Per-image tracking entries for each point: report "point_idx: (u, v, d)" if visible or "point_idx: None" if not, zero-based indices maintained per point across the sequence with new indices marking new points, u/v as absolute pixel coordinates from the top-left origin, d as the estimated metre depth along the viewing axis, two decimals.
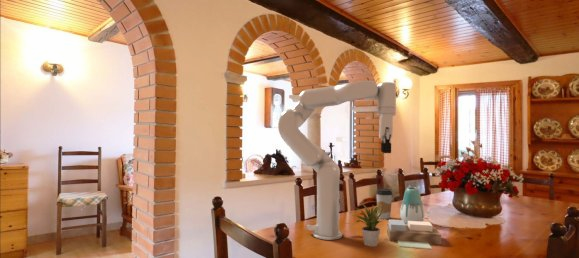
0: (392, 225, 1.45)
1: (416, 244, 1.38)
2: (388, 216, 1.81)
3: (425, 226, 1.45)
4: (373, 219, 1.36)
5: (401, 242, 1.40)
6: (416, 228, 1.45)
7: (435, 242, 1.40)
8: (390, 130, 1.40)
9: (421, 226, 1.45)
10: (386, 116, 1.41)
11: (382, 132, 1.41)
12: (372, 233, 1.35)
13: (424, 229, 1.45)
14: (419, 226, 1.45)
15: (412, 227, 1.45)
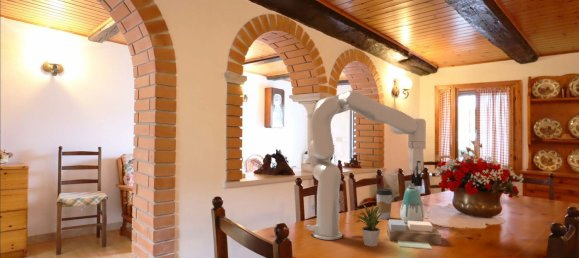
0: (392, 225, 1.45)
1: (416, 244, 1.38)
2: (388, 216, 1.81)
3: (425, 226, 1.45)
4: (373, 219, 1.36)
5: (401, 242, 1.40)
6: (416, 228, 1.45)
7: (435, 242, 1.40)
8: (421, 163, 1.52)
9: (421, 226, 1.45)
10: (417, 150, 1.53)
11: (414, 165, 1.52)
12: (372, 233, 1.35)
13: (424, 229, 1.45)
14: (419, 226, 1.45)
15: (412, 227, 1.45)
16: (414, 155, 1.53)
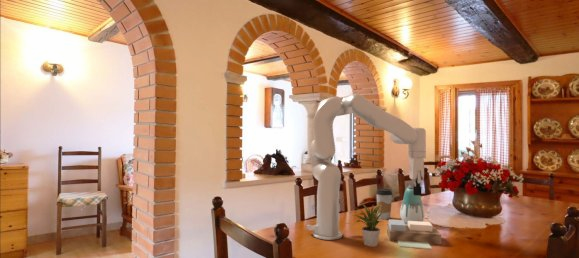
0: (392, 225, 1.45)
1: (416, 244, 1.38)
2: (388, 216, 1.81)
3: (425, 226, 1.45)
4: (373, 219, 1.36)
5: (401, 242, 1.40)
6: (416, 228, 1.45)
7: (435, 242, 1.40)
8: (422, 173, 1.52)
9: (421, 226, 1.45)
10: (418, 160, 1.53)
11: (414, 175, 1.52)
12: (372, 233, 1.35)
13: (424, 229, 1.45)
14: (419, 226, 1.45)
15: (412, 227, 1.45)
16: (414, 165, 1.53)
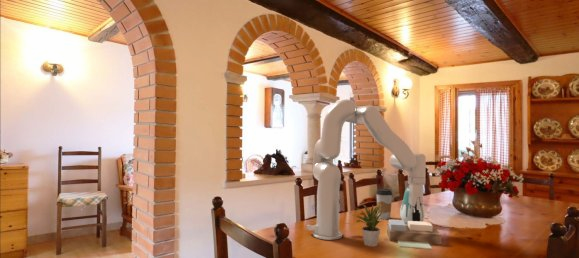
0: (392, 225, 1.45)
1: (416, 244, 1.38)
2: (388, 216, 1.81)
3: (425, 226, 1.45)
4: (373, 219, 1.36)
5: (401, 242, 1.40)
6: (416, 228, 1.45)
7: (435, 242, 1.40)
8: (421, 200, 1.51)
9: (421, 226, 1.45)
10: (417, 186, 1.52)
11: (413, 201, 1.52)
12: (372, 233, 1.35)
13: (424, 229, 1.45)
14: (419, 226, 1.45)
15: (412, 227, 1.45)
16: (414, 191, 1.52)
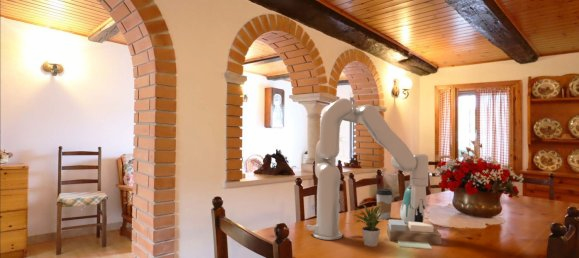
0: (392, 225, 1.45)
1: (416, 244, 1.38)
2: (388, 216, 1.81)
3: (426, 227, 1.43)
4: (373, 219, 1.36)
5: (401, 242, 1.40)
6: (417, 229, 1.44)
7: (435, 242, 1.40)
8: (424, 202, 1.46)
9: (422, 227, 1.43)
10: (420, 188, 1.47)
11: (416, 203, 1.46)
12: (372, 233, 1.35)
13: (425, 230, 1.43)
14: (420, 227, 1.44)
15: (413, 228, 1.44)
16: (416, 193, 1.47)
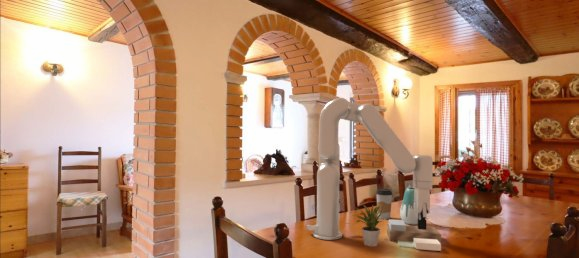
0: (392, 225, 1.45)
1: None
2: (388, 216, 1.81)
3: None
4: (373, 219, 1.36)
5: (401, 242, 1.40)
6: None
7: None
8: (428, 206, 1.38)
9: None
10: (423, 191, 1.39)
11: (419, 208, 1.39)
12: (372, 233, 1.35)
13: None
14: None
15: None
16: (420, 196, 1.39)
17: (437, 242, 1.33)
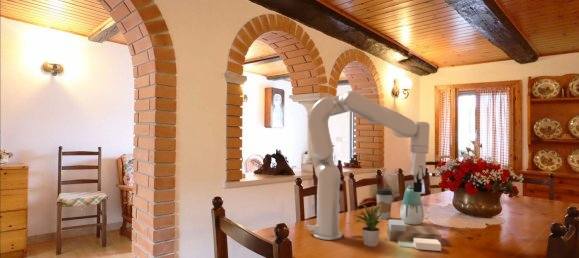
0: (392, 225, 1.45)
1: None
2: (388, 216, 1.81)
3: None
4: (373, 219, 1.36)
5: (401, 242, 1.40)
6: None
7: None
8: (423, 169, 1.46)
9: None
10: (420, 155, 1.46)
11: (415, 170, 1.46)
12: (372, 233, 1.35)
13: None
14: None
15: None
16: (416, 160, 1.46)
17: (437, 242, 1.33)
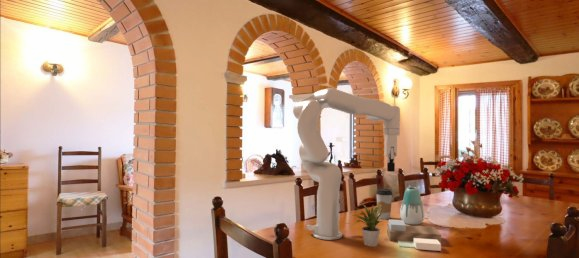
0: (392, 225, 1.45)
1: None
2: (388, 216, 1.81)
3: None
4: (373, 219, 1.36)
5: (401, 242, 1.40)
6: None
7: None
8: (395, 149, 1.57)
9: None
10: (391, 136, 1.58)
11: (388, 151, 1.57)
12: (372, 233, 1.35)
13: None
14: None
15: None
16: (388, 141, 1.58)
17: (437, 242, 1.33)
